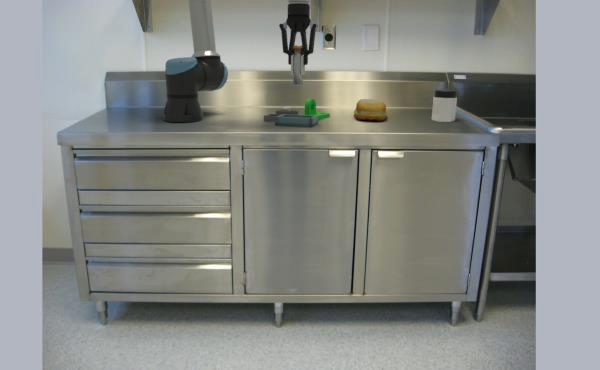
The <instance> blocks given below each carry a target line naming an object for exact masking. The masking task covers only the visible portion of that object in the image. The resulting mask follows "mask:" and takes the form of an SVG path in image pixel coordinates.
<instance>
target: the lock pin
mask: <svg viewBox="0 0 600 370" xmlns="http://www.w3.org/2000/svg"><path fill="white" fill-rule="evenodd" d="M292 49H293V55H294V56H293V75H292V84H293V85H303V84H304V83H303V77H304V75H301V56H304V55H303V46H302V45H294V46H292Z"/></svg>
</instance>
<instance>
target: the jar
mask: <svg viewBox="0 0 600 370" xmlns="http://www.w3.org/2000/svg"><path fill="white" fill-rule="evenodd" d="M457 92H458V91H457V90H453V89H435V90H434V96H433V99H432V109H431V111H432V112H431V120H432V121H434V122H441V123H443V122H445V123H450V122H455V121H456V114H457V104H458V97H457V94H458V93H457Z"/></svg>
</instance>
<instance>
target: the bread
mask: <svg viewBox="0 0 600 370" xmlns="http://www.w3.org/2000/svg"><path fill="white" fill-rule="evenodd" d="M353 115H354V117H355V118H356V119H357V120H358V121H361V120H363V121H376V122H382V121H384V120H386V118H387V117H388V111H387V105H386V103H385V102H384V101H382V100H381V99H380V100H379V99H373V98H371V99H370V98H361V99H359V100H358V101H357V103H356V107H355V110H354V111H353Z"/></svg>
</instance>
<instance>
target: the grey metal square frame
mask: <svg viewBox="0 0 600 370" xmlns="http://www.w3.org/2000/svg"><path fill="white" fill-rule="evenodd" d="M279 115H282V114H276V113H268V114H265V115H263V122H274V123H275V117H276V116H279Z"/></svg>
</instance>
